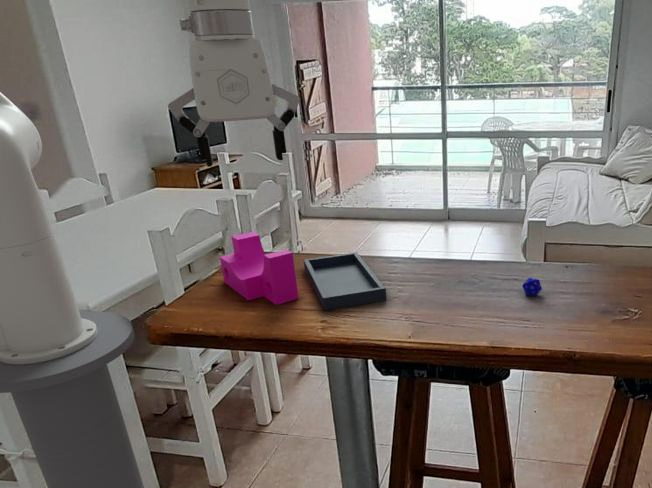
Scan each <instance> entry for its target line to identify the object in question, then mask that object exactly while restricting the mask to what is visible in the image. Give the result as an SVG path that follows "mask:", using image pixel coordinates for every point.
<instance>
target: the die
mask: <svg viewBox="0 0 652 488" xmlns="http://www.w3.org/2000/svg"><path fill="white" fill-rule="evenodd" d="M521 286H522V288H523V291H524V294H525V295H527V296H532V297H537V295H538V294H539V293H540V292H541V291H542V290H543V287H542V285H541V282H540V279H538V278H533V277H528V278H527V279H526V280H525V281H524V283H522V285H521Z"/></svg>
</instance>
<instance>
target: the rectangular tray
mask: <svg viewBox="0 0 652 488" xmlns="http://www.w3.org/2000/svg"><path fill="white" fill-rule="evenodd" d="M303 268H304V272H305V274H306V276H307V278H308V280H309V283H310V284H311V286H312V288H313V291H314V293H315V294H316V296H317V298H318V301H319V302H320V305H321V307H322V309H323V311H330V310H331V311H332V310H337V309H342V308H348V307H355V306H360V305H366V304H372V303H373V304H374V303H378V302H384V301H387V288H386V286H384V284H383V283H382V282H381V280H380V279H379V278H378V277H377V275H376V274H375V273H374V271H372V269H371V268H370V267H369V266H368V264H367V263H366V261H364V259H363V258H362V257H361V256H360V254H359V253H358V252H349V253H341V254H335V255H328V256H320V257H314V258H305V259H303Z"/></svg>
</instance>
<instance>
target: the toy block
mask: <svg viewBox="0 0 652 488" xmlns="http://www.w3.org/2000/svg"><path fill="white" fill-rule="evenodd" d="M260 237H261V236H260V235H259V234H258V233H256V232H254V231H249V232H246V233H245V232H244V233H241V234H236V235H231V236H230V238H231V243H232V249H233V253H231V254H226V255H222V256H219V260H220V266H221V270H222V276H223V281H224V283H225V284H226V285H228V286H229V287H230V288H232V290H234V291H235V292H236V293H238V294H240V296H242V297H243V298H245V299H246V300H247V301H251V300H255V299H258V298H263V297H264V298H266V299H267V300H268V301H270V302H271V303H272V304H274V305H275V306H278V305H281V304H285V303H288V302H292V301H295V300H298V299H299V292H298V283H297V276H296V268H295V260H294V253H293V251H290V250H288V249H283V250H278V251H274V252H270V253H265V250H264V248H263V245H262V241H261V238H260Z"/></svg>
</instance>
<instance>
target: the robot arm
mask: <svg viewBox="0 0 652 488" xmlns="http://www.w3.org/2000/svg"><path fill="white" fill-rule="evenodd" d="M187 3H188V7H189V14H190V15H188V17H185V18H181V19H180V18H179V25H180V29H181V31H182V32H188V33H191V34H193V36H194V40H190V41H188V42H189V44H188V45H189V49H188V50H189V51H188V52H189V53H188V54H189V66H190V75H191V81H192V88H191V89H189V90H187V91H185V92H183V94H181V95H180V96H178V97H176V98H175V99H173V100H172V101H170V102H169V103H168V104H167V108H168V110H169V111H170V112H171V114H172V115H173V116H174V118H175V119H176V120H177V122H178V123H179V124H180V126H182V127H183V128H184V129H186V130H187V131H188V132H189V133H190V134H191V135H193V136H194V137H195V138H196V142H197V147H198V152H199V157H200V161H206V166H207V168H209V167H212V166H213V165H214V164H213V163H214V162H213V161H214V160H213V157H212V151H211V145H210V140H209V136H208V134H207V133H206V130H207V128H208V127H209V125H210V123H220V122H222V123H223V122H235V121H249V120H262V119H267V121H269V122H270V124H271V125H273V130H272V138H273V145H274V152H275V158H276V159H277V160H278V161H283V160H284V157H283V154H287V148H286V147H287V146H286V145H287V144H286V139H285V138H286V137H285V130H286V128H287V126H288V125H289V124H290V123H291V121H292V120H293V119H294V117H295V115H296V112H297V109H298V106H299V103H300V100H301V99H300V96H299V95H297V94H295V93H293V92H291V91H289V90H286V89H284V88H282V87H279V86H278V85H276V84H273V83H272V77H271V72H270V67H269V63H268V58H267V55H266V51H265V47H264V44H263V41H262V38H256V37H255V30H254V23H253V15H252V9H251V4H250V3H251V2H250V0H187ZM275 96H276V97H278V98H280V99H282V100H285V101H286V102H287V105H286V108H285V110H284V112H283V113H282V114H281V115H280V117H279V116H277V114H275V112H276V102H275ZM193 101H194V102H195V106H196V111H197V114H198V116H199V120H198V121H197V123H196V122H195V121H193V120H192V119H191V118H190V117H188V116H187V114H186V113H185V112H184V110H183V107H186V105H189V104H190V103H191V102H193ZM42 142H43V141H42V139H41V135H40V133H39V131H38V128H37V127H36V125H35V124H34V123H33V122H32V120H31V119H30V118H29V117H28V116H27V115H26V114H25V113H24V112H23V110H21V109H20V108H19V107H17V106H16V104H14V103H13V102H12V101H11V100H10V99H9V98H8V97H6V96H5V95H4V94H3V93H2V92H1V91H0V362H3V363H7V364H14V365H24V364H34V363H40V362H45V361H49V360H54V359H57V358H60V357H63V356H66V355H69V354H71V353H74V352H76V351H78V350H80V349H82V348H83V347H85V346H87V345H88V344H89V343H91V342H92V341H93V340H94V339H95V338H96V336H97V334H98V330H97V327H96V324H95V323H94V322H92V321H90V320H87V319H82V318H81V316H80V313H79V312H80V310H79V307H78V304H77V301H76V297H75V294H74V290H73V287H72V284H71V281H70V278H69V275H68V271H67V269H66V265H65V262H64V259H63V255H62V253H61V249H60V246H59V242H58V240H57V239H58V238H57V236H56V233H55V231H54V226H53V224H52V220H51V217H50V215H49V212H48V209H47V206H46V204H45V203H46V202H45V201H44V199H43V196H42V194H41V192H40V190H39V187H38V185H37V183H36V180H35V178H34V175H33V172H32V169H34V168H35V167H36V166H37V164H38V163H39V162H40V159H41V157H42V152H43V143H42Z"/></svg>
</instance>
